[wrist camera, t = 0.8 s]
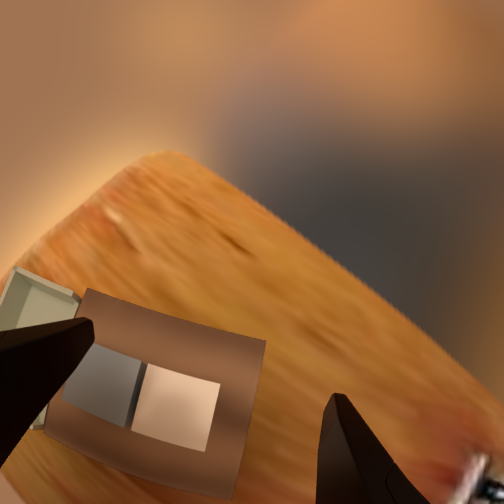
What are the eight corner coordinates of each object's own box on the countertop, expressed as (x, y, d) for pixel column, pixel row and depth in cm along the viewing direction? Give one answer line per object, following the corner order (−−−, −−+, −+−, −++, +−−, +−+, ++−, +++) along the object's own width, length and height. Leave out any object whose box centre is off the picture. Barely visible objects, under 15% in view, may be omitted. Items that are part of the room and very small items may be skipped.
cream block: (203, 444, 17) (204, 451, 15) (139, 426, 17) (130, 430, 14) (217, 385, 20) (220, 384, 17) (154, 368, 19) (148, 363, 17)
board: (227, 489, 18) (231, 499, 15) (58, 431, 17) (43, 433, 14) (258, 347, 25) (266, 340, 22) (97, 299, 24) (87, 287, 21)
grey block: (133, 424, 17) (123, 427, 14) (77, 400, 17) (61, 399, 14) (148, 366, 19) (141, 361, 17) (93, 345, 19) (79, 336, 17)
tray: (53, 428, 17) (32, 430, 13) (-3, 390, 16) (-26, 385, 13) (88, 306, 23) (73, 291, 20) (32, 282, 23) (14, 264, 20)
